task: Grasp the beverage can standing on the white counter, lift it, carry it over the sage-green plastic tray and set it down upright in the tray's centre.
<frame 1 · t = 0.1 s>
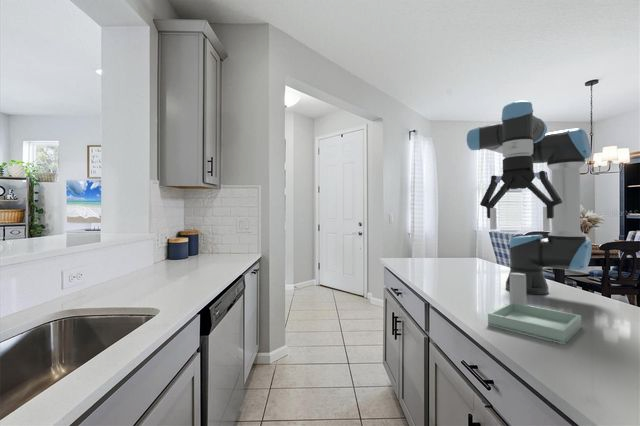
hand: (518, 230, 91), 28 cm above the worktop, fingers open, 13 cm apart
beverage can: (518, 309, 107), on the worktop
tray: (534, 326, 90), on the worktop
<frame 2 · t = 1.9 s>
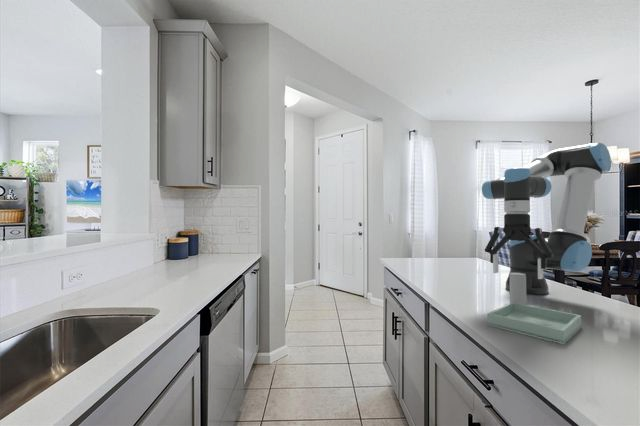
hand: (517, 275, 107), 11 cm above the worktop, fingers open, 13 cm apart
nothing on the worktop moved.
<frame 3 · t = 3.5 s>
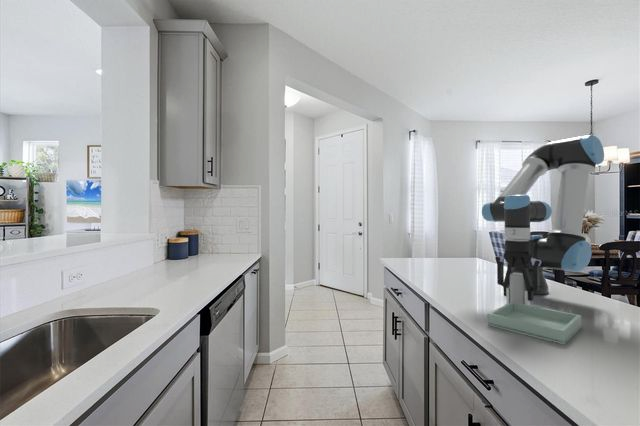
hand: (518, 307, 107), 0 cm above the worktop, fingers closed on beverage can, 5 cm apart
beverage can: (518, 309, 107), on the worktop, touching gripper
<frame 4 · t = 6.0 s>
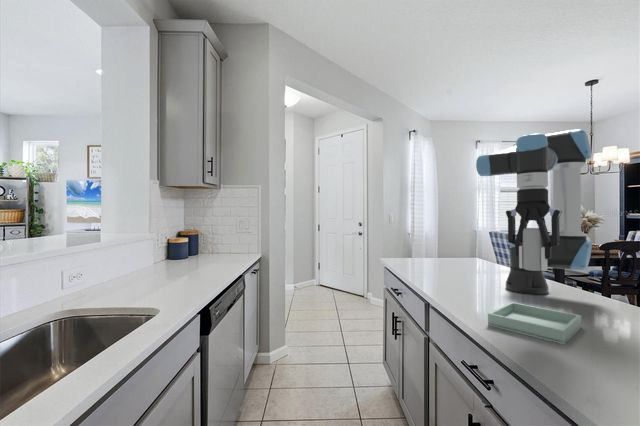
hand: (533, 268, 90), 17 cm above the worktop, fingers closed on beverage can, 5 cm apart
beverage can: (533, 270, 90), point 16 cm above the worktop, touching gripper
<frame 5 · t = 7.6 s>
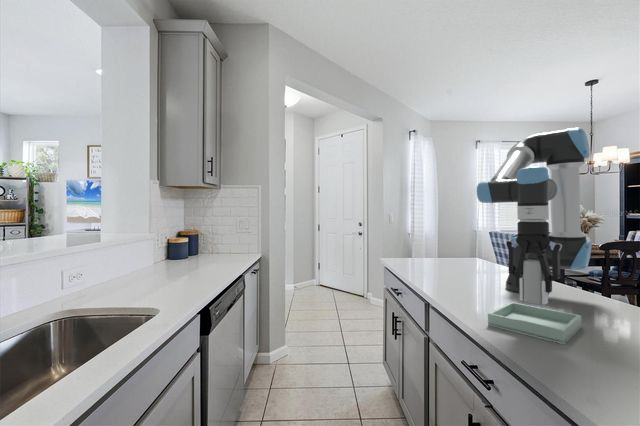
hand: (533, 301, 90), 7 cm above the worktop, fingers closed on beverage can, 5 cm apart
beverage can: (533, 302, 90), point 7 cm above the worktop, touching gripper
when the fingers open (3 cm above the worktop, at t = 8.8 s): beverage can drops 2 cm, resting on tray.
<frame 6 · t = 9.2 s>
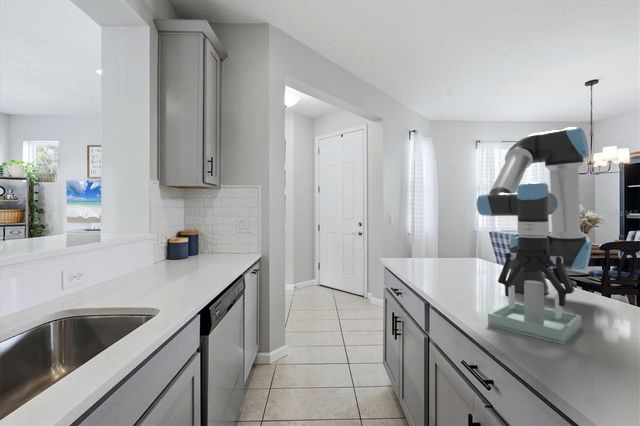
hand: (533, 312, 90), 4 cm above the worktop, fingers open, 11 cm apart
beverage can: (533, 323, 90), point 1 cm above the worktop, touching tray
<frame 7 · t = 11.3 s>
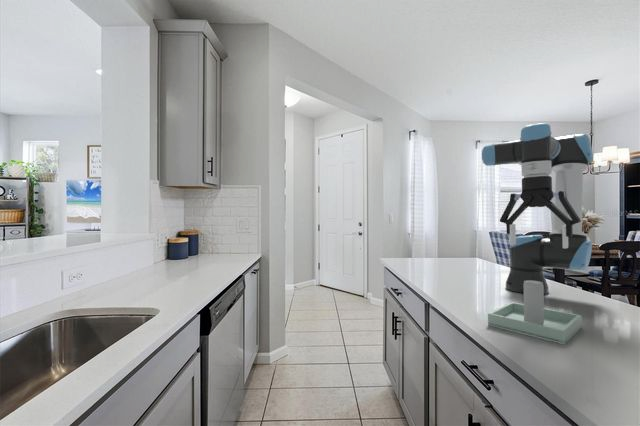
hand: (537, 246, 95), 23 cm above the worktop, fingers open, 13 cm apart
nothing on the worktop moved.
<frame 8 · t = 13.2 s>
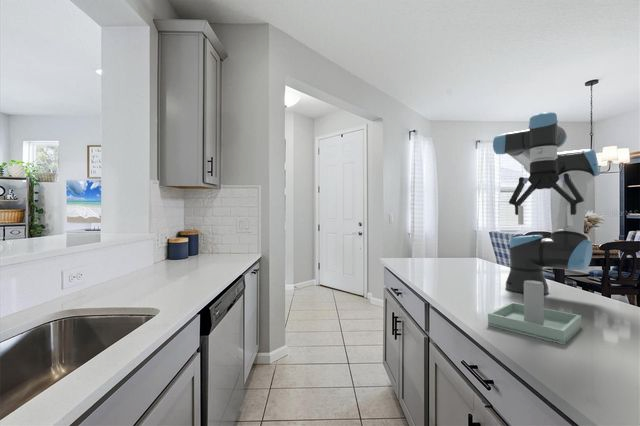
hand: (544, 225, 103), 29 cm above the worktop, fingers open, 13 cm apart
nothing on the worktop moved.
at the end: beverage can inside the target area on the tray (0.0 cm from its centre), point 0.6 cm above the tray's base; beverage can tilted 0°; the gripper is holding nothing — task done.
